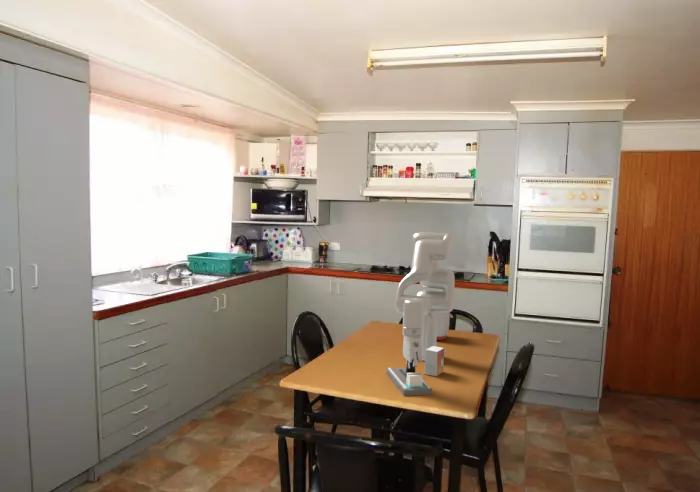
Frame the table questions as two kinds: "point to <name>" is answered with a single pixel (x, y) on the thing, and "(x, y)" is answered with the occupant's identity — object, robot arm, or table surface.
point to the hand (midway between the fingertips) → (410, 377)
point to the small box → (434, 360)
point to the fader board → (400, 381)
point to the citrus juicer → (442, 324)
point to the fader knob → (414, 379)
